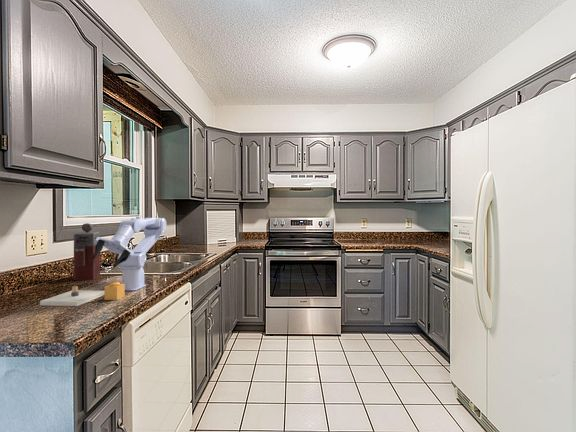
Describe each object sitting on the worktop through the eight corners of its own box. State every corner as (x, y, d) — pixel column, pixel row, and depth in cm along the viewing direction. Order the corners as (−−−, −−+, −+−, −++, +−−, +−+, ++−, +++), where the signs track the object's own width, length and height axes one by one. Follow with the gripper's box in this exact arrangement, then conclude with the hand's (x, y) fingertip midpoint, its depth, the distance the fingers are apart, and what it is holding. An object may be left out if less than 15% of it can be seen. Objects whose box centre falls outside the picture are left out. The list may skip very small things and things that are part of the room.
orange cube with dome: (112, 296, 124) (112, 281, 124) (124, 296, 124) (124, 281, 124) (104, 299, 119) (104, 284, 119) (117, 299, 119) (117, 284, 119)
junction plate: (73, 293, 128) (73, 281, 128) (105, 294, 127) (105, 282, 127) (39, 305, 112) (39, 291, 112) (77, 306, 111) (76, 292, 111)
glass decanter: (71, 281, 150) (71, 223, 150) (81, 276, 161) (80, 223, 161) (92, 280, 152) (92, 223, 152) (100, 276, 163) (100, 223, 163)
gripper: (105, 224, 124) (86, 246, 113) (141, 240, 128) (126, 263, 117) (100, 236, 127) (82, 258, 116) (135, 251, 132) (120, 274, 120)
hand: (104, 261), depth 117 cm, fingers open, 7 cm apart
